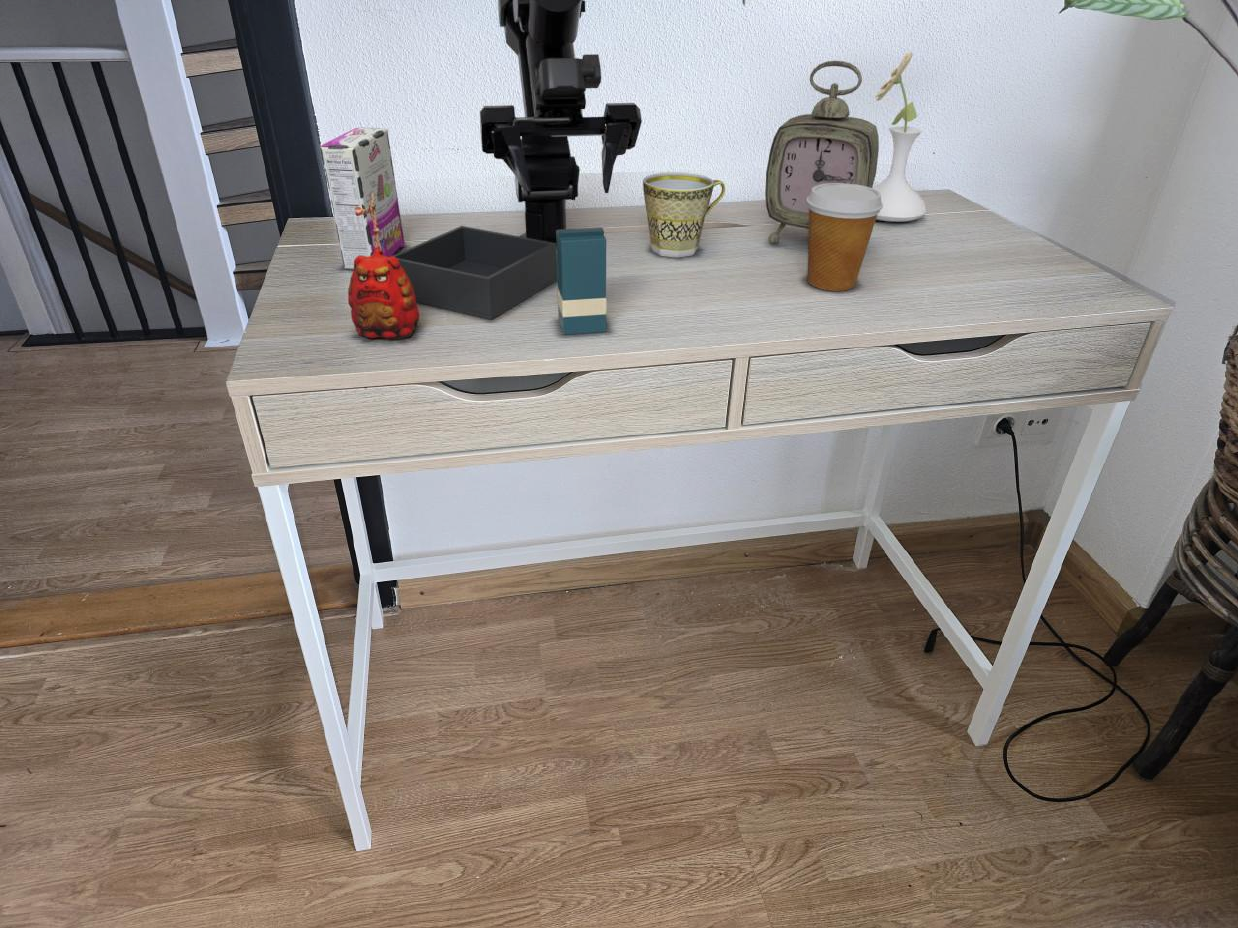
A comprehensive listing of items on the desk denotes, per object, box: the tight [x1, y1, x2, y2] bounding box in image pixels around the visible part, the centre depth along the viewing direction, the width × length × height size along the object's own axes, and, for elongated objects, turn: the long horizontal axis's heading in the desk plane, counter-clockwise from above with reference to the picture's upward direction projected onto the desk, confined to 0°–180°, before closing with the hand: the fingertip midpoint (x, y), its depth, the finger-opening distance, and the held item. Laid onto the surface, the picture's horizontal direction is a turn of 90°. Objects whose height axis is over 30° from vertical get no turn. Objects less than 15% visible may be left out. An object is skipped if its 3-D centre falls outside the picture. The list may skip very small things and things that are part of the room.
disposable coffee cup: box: [806, 183, 883, 292], centre depth 106 cm, size 10×10×12 cm
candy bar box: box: [319, 126, 406, 271], centre depth 111 cm, size 11×5×16 cm, turn 171°
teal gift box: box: [556, 226, 608, 336], centre depth 93 cm, size 4×5×12 cm
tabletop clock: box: [764, 60, 880, 245], centre depth 116 cm, size 14×9×25 cm, turn 68°
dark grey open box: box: [391, 225, 558, 321], centre depth 104 cm, size 15×15×5 cm
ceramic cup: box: [642, 171, 726, 259], centre depth 117 cm, size 13×10×10 cm
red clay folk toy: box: [347, 193, 420, 341], centre depth 90 cm, size 8×7×15 cm
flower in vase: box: [872, 51, 928, 223], centre depth 128 cm, size 13×11×25 cm
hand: (568, 193), depth 95 cm, fingers open, 9 cm apart
